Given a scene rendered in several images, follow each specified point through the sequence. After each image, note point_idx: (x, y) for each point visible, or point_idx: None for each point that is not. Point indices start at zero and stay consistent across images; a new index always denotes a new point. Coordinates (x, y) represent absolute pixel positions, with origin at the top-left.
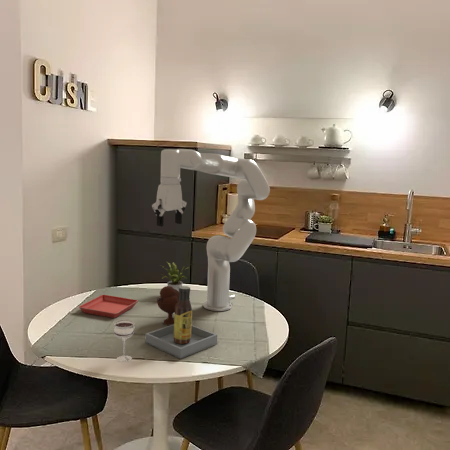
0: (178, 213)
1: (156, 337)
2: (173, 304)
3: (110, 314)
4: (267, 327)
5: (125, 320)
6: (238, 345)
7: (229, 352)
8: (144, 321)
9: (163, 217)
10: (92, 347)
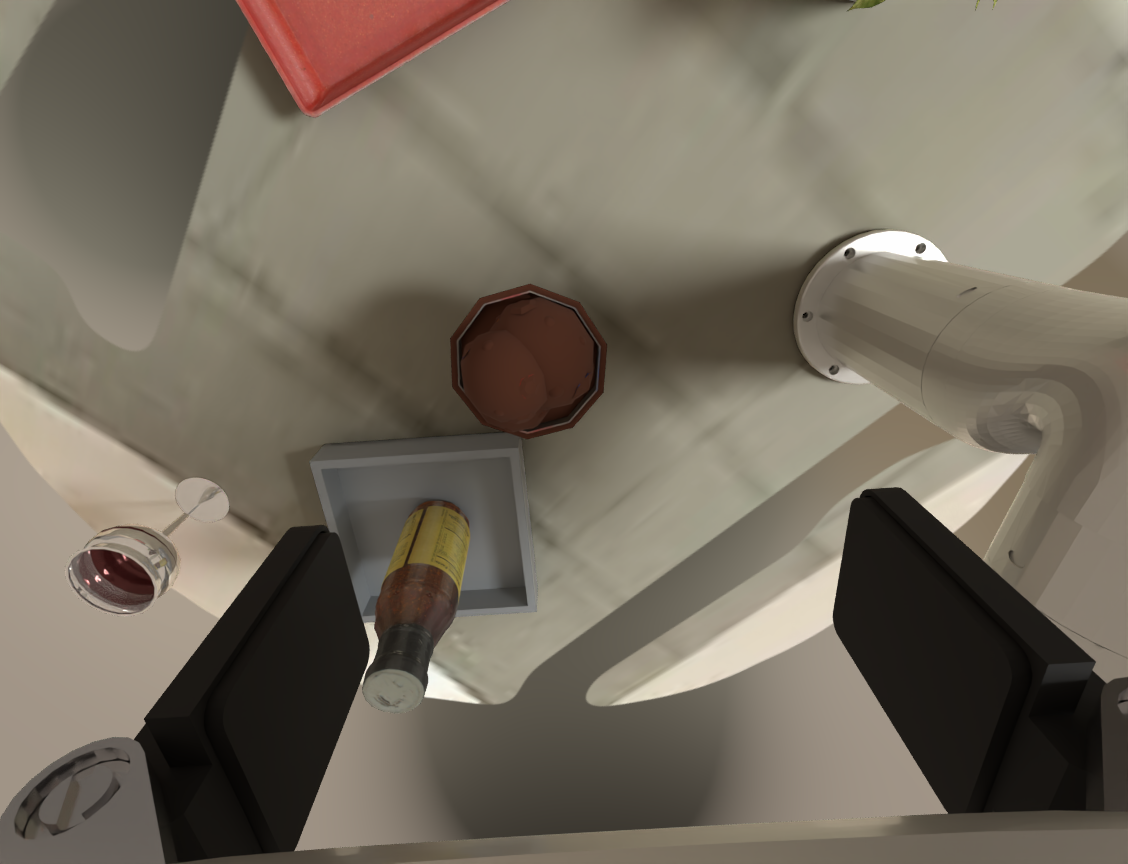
0: (1015, 787)
1: (330, 512)
2: (498, 427)
3: (292, 78)
4: (789, 593)
5: (129, 555)
6: (585, 630)
7: (523, 645)
8: (440, 242)
9: (298, 836)
10: (118, 355)
